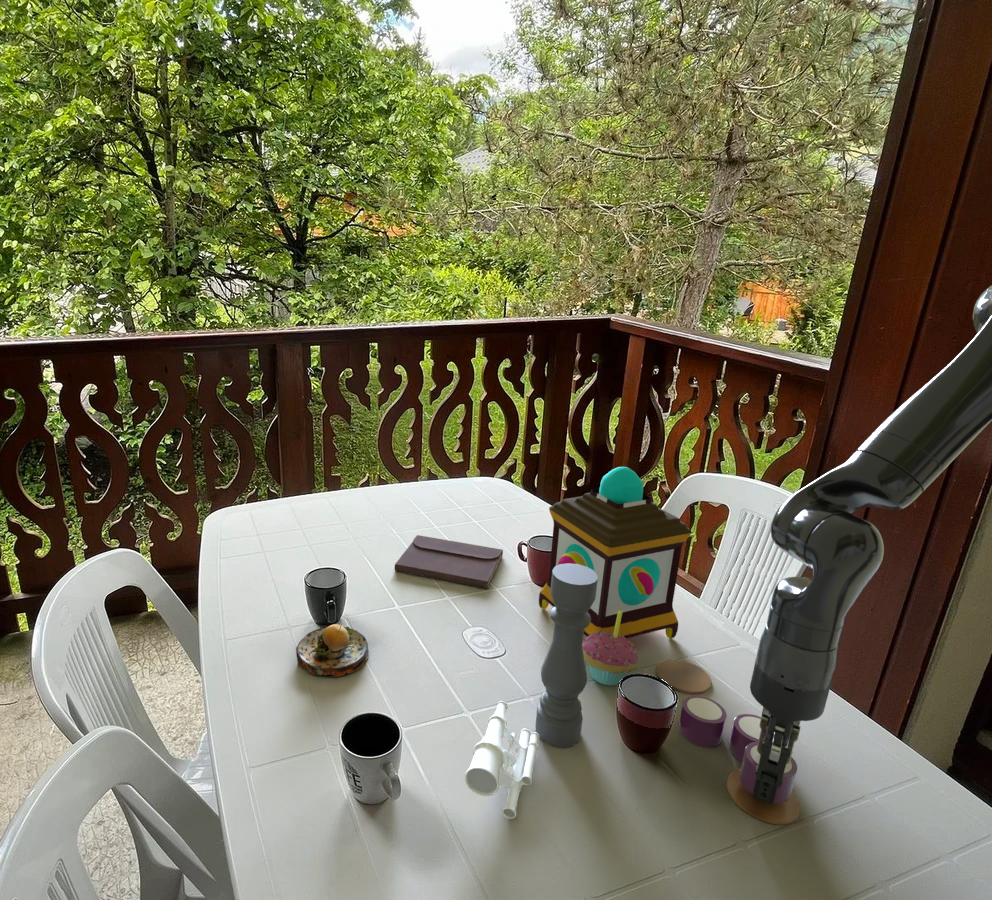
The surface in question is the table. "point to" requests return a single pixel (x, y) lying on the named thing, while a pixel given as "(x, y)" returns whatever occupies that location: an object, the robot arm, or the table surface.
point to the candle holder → (566, 656)
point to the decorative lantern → (621, 554)
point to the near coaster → (762, 804)
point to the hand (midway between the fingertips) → (765, 781)
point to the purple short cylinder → (749, 770)
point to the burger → (332, 651)
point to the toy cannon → (502, 761)
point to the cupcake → (609, 655)
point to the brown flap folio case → (450, 561)
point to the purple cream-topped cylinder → (702, 721)
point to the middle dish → (744, 733)
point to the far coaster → (684, 676)
